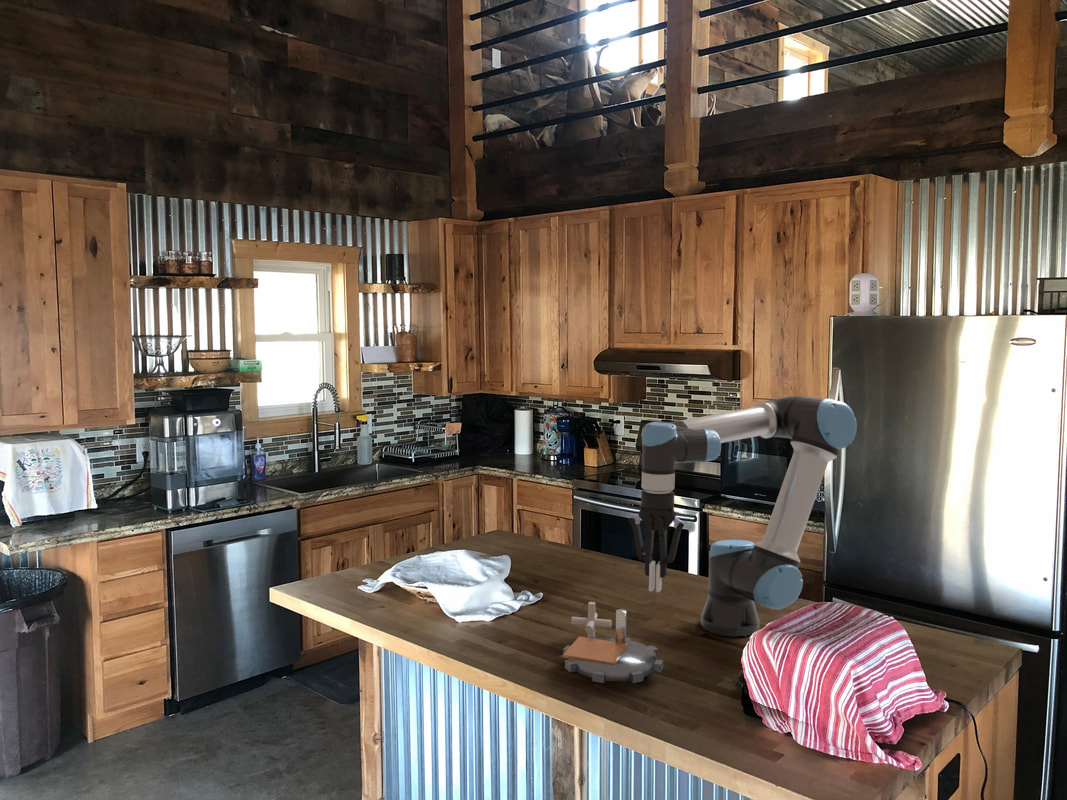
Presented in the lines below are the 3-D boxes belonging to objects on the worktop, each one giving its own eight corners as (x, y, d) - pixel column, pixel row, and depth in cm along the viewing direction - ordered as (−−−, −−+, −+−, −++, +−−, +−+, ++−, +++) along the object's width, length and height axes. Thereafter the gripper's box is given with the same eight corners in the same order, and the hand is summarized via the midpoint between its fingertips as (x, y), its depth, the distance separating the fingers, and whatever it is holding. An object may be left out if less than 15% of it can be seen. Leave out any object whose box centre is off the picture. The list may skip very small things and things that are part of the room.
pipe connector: (608, 650, 209) (609, 611, 208) (568, 647, 211) (568, 608, 210) (613, 635, 219) (613, 598, 218) (574, 632, 221) (575, 595, 220)
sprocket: (672, 652, 203) (673, 611, 202) (649, 691, 181) (651, 645, 180) (580, 638, 211) (580, 598, 210) (548, 673, 189) (548, 630, 188)
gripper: (691, 489, 197) (688, 589, 199) (632, 484, 202) (630, 581, 204) (685, 495, 190) (682, 598, 192) (624, 490, 195) (621, 591, 197)
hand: (655, 589), depth 198 cm, fingers closed
